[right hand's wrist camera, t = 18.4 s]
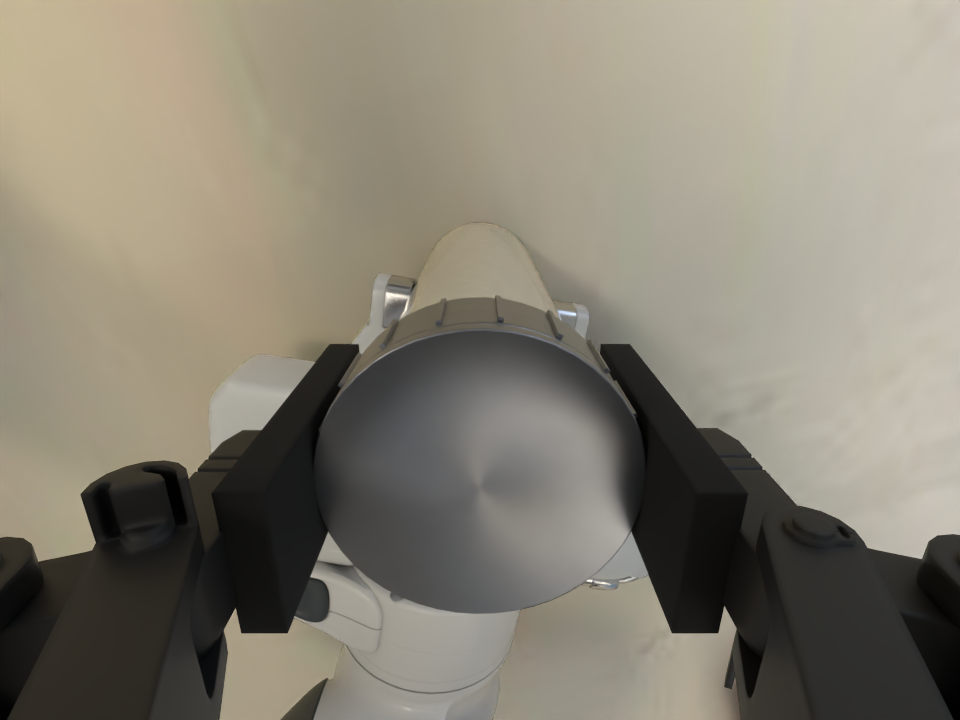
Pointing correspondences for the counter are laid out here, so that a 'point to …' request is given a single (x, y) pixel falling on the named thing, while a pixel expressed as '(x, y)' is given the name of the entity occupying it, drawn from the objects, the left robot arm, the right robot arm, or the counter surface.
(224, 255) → the counter surface
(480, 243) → the jar
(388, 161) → the counter surface
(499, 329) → the lid
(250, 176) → the counter surface
